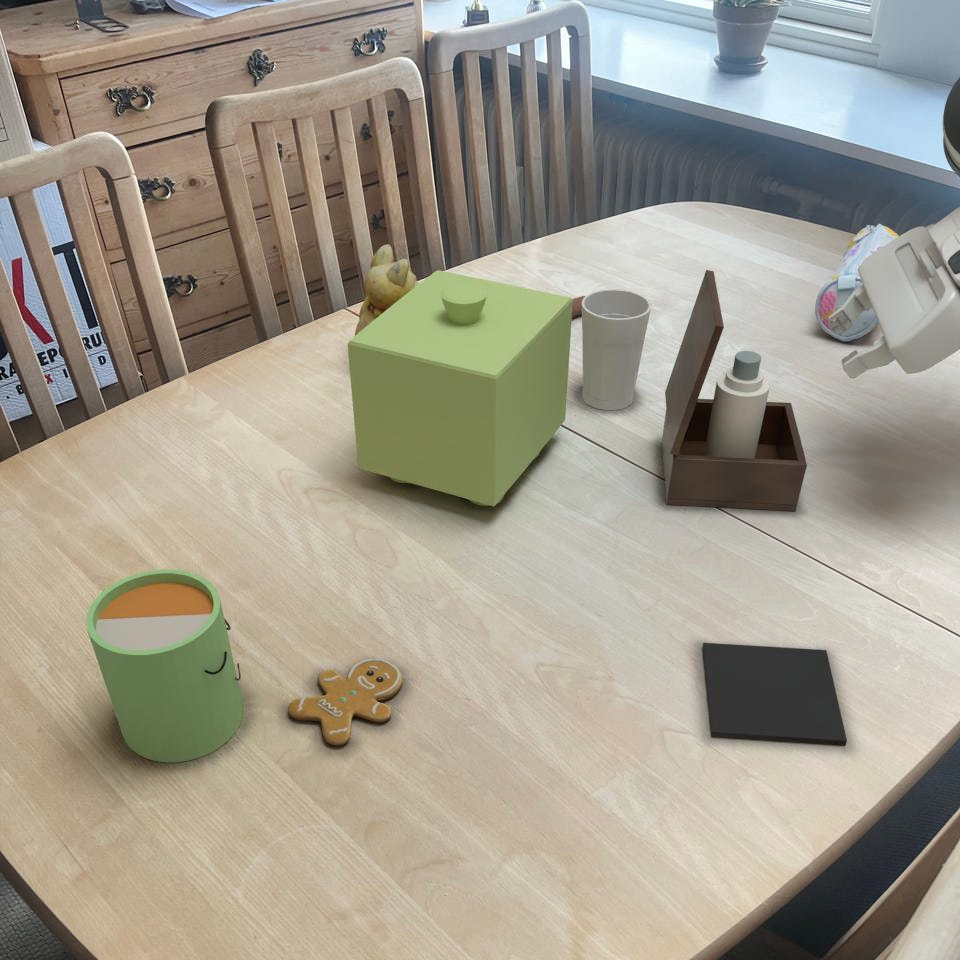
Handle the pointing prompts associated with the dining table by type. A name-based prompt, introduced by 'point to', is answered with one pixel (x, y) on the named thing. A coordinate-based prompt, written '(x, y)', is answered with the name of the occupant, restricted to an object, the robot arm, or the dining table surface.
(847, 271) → the pencil case
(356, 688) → the cookie
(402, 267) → the decorative figurine
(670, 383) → the chest lid
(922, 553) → the dining table surface
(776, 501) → the chest
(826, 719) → the mat
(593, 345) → the cup
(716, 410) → the bottle
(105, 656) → the mug
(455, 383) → the container
